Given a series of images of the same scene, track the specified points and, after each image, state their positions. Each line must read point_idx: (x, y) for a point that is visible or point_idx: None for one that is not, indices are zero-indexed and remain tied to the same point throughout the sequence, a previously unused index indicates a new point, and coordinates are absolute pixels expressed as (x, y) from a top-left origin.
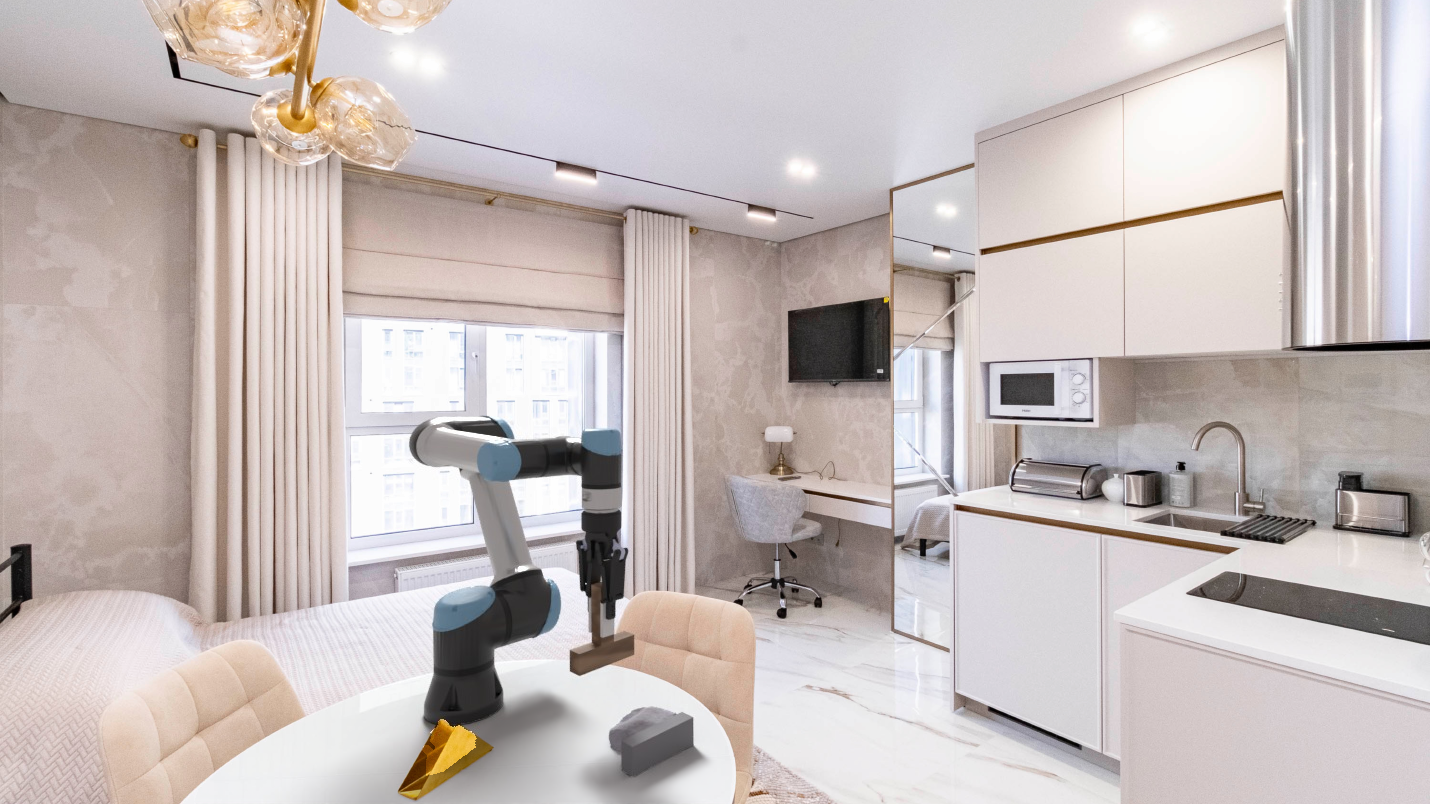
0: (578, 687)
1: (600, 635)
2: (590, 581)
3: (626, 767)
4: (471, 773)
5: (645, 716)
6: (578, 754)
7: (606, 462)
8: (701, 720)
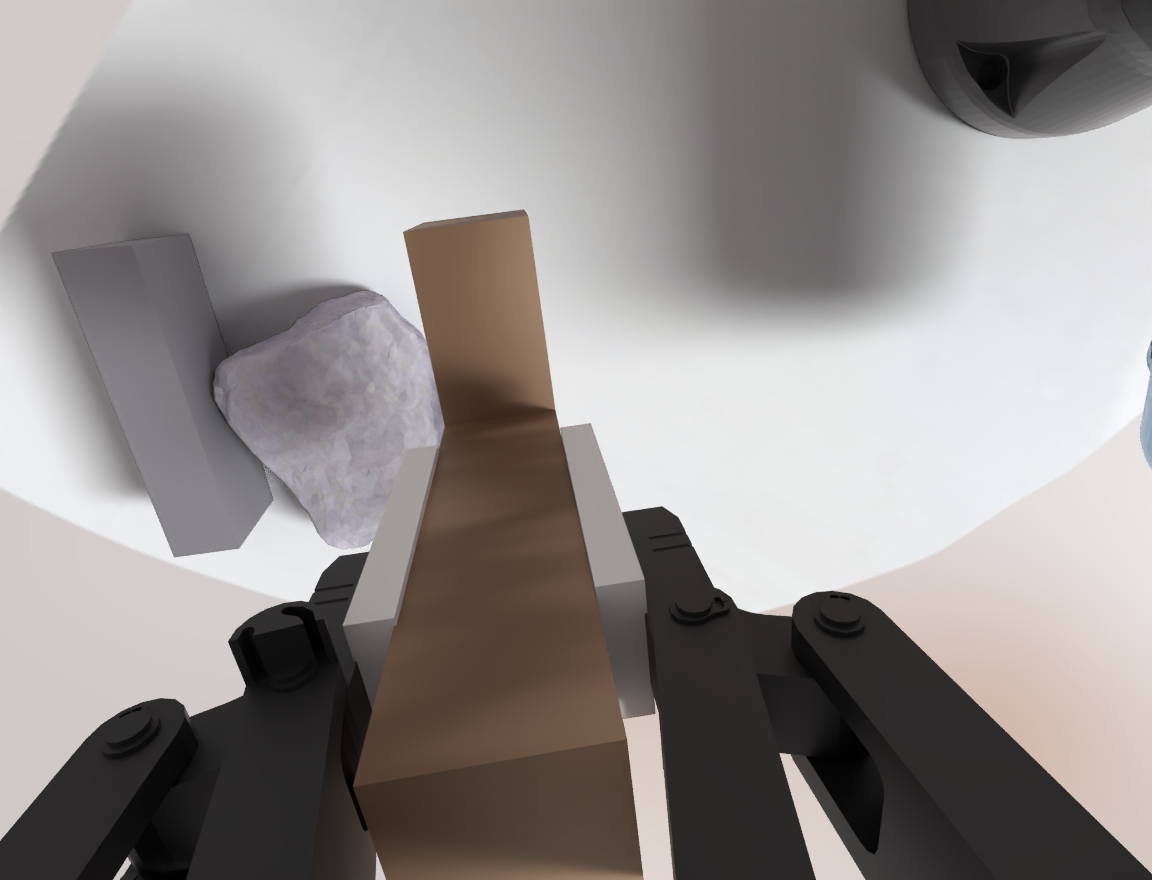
0: (843, 416)
1: (436, 449)
2: (669, 777)
3: (147, 239)
4: None
5: (371, 453)
6: (388, 165)
7: None
8: None
